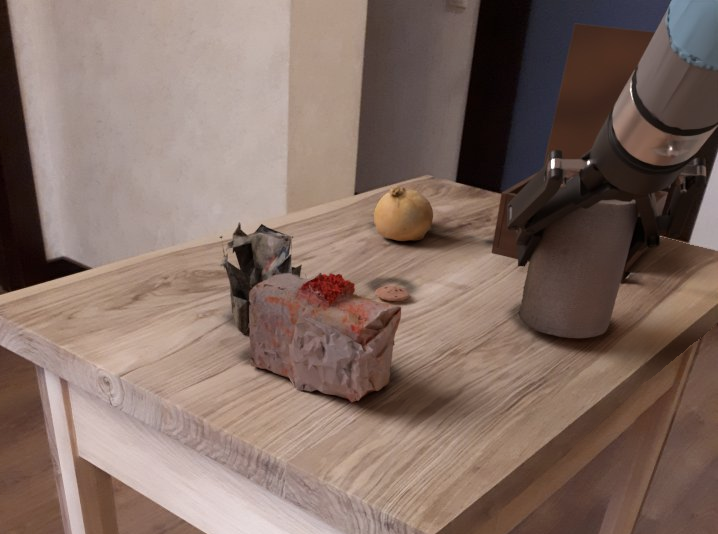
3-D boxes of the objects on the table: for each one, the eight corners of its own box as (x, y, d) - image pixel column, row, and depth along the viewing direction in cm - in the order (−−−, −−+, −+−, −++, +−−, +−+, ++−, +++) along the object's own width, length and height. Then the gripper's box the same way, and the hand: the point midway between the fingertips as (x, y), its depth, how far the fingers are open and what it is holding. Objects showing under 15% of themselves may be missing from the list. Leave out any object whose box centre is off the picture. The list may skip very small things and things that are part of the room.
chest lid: (713, 38, 97) (714, 39, 98) (574, 23, 104) (576, 23, 105) (668, 188, 107) (669, 188, 107) (543, 165, 113) (545, 165, 114)
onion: (382, 225, 113) (387, 173, 109) (436, 234, 111) (443, 182, 107) (364, 241, 107) (369, 187, 103) (421, 251, 105) (428, 196, 101)
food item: (405, 384, 74) (416, 282, 69) (361, 418, 69) (370, 311, 63) (285, 344, 80) (287, 247, 74) (236, 373, 74) (234, 270, 68)
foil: (178, 298, 79) (234, 185, 84) (214, 359, 89) (263, 254, 94) (283, 317, 76) (335, 197, 81) (309, 378, 85) (354, 268, 90)
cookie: (407, 305, 90) (408, 296, 89) (371, 300, 90) (372, 292, 90) (411, 292, 93) (412, 284, 92) (377, 288, 93) (378, 280, 93)
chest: (621, 283, 100) (638, 220, 95) (491, 252, 107) (501, 192, 102) (651, 249, 112) (668, 191, 107) (532, 223, 118) (543, 168, 114)
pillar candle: (500, 310, 87) (525, 166, 78) (569, 298, 91) (600, 160, 82) (557, 345, 80) (592, 192, 72) (629, 331, 84) (670, 184, 75)
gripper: (516, 163, 62) (465, 284, 84) (797, 178, 62) (672, 295, 84) (517, 76, 63) (466, 218, 85) (792, 91, 63) (670, 229, 86)
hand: (568, 256), depth 85 cm, fingers closed on pillar candle, 9 cm apart
